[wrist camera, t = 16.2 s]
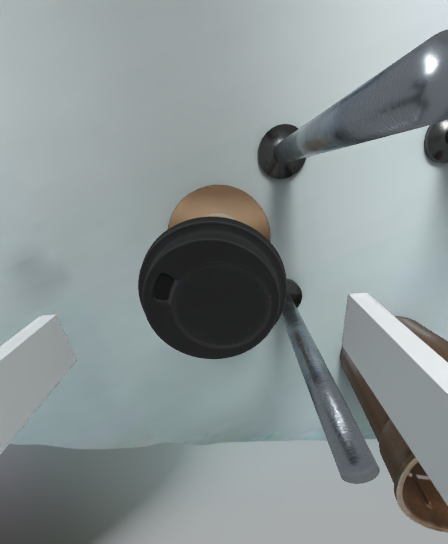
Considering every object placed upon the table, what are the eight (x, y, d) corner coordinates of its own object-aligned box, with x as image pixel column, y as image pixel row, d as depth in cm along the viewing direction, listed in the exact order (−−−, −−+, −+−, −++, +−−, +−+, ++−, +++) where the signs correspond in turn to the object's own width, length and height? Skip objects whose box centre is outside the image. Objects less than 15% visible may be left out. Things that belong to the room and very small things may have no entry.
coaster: (160, 190, 26) (158, 190, 25) (267, 179, 26) (269, 179, 25) (178, 286, 31) (176, 289, 30) (269, 279, 30) (271, 282, 29)
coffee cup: (172, 201, 26) (106, 233, 12) (258, 192, 25) (295, 213, 11) (186, 279, 29) (149, 373, 15) (262, 272, 29) (294, 363, 15)
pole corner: (256, 128, 24) (354, -45, 5) (306, 122, 24) (593, -80, 5) (258, 180, 26) (335, 189, 7) (304, 176, 25) (508, 173, 7)
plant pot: (329, 304, 31) (420, 420, 16) (455, 295, 30) (674, 409, 15) (322, 392, 37) (384, 536, 22) (427, 387, 36) (564, 532, 22)
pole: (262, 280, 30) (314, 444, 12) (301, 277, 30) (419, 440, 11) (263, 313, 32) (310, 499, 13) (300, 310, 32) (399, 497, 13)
